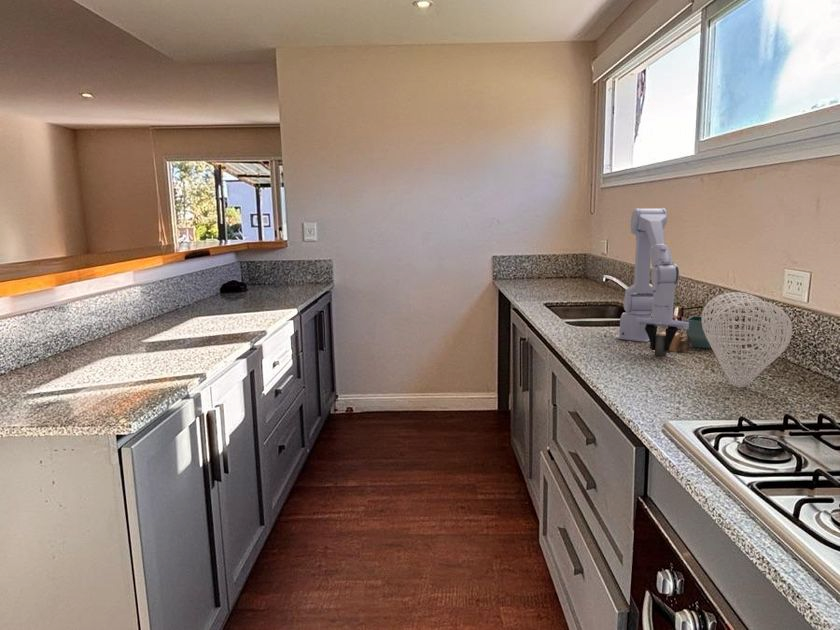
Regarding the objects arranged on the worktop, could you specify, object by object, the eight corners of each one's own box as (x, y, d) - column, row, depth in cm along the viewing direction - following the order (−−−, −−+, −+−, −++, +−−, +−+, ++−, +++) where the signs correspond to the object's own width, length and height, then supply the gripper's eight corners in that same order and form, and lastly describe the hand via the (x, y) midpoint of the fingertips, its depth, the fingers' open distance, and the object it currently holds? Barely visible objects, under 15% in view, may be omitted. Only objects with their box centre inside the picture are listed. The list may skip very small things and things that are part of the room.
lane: (649, 348, 180) (650, 337, 179) (656, 343, 186) (657, 333, 185) (683, 352, 174) (684, 341, 173) (689, 347, 180) (690, 336, 179)
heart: (692, 370, 153) (698, 288, 149) (756, 374, 149) (764, 290, 145) (715, 402, 126) (723, 303, 122) (795, 407, 122) (805, 305, 118)
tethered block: (649, 354, 171) (651, 335, 170) (662, 346, 182) (663, 328, 181) (667, 357, 168) (668, 337, 167) (678, 348, 179) (680, 329, 178)
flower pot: (714, 351, 176) (716, 322, 174) (683, 347, 181) (685, 319, 179) (719, 346, 182) (722, 318, 181) (690, 342, 188) (692, 315, 186)
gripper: (633, 305, 169) (631, 349, 171) (686, 309, 161) (683, 356, 163) (640, 302, 175) (638, 345, 177) (691, 306, 166) (688, 351, 168)
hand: (660, 350), depth 170 cm, fingers closed on tethered block, 3 cm apart
